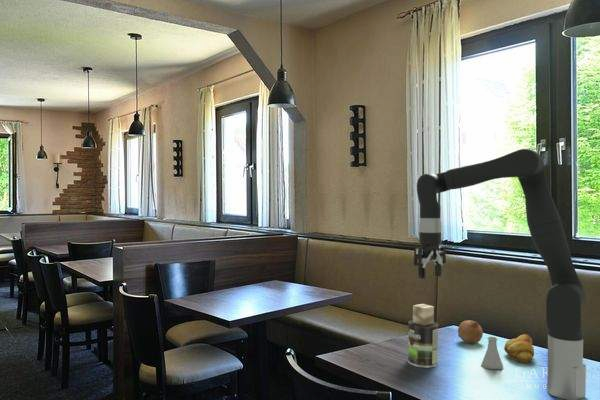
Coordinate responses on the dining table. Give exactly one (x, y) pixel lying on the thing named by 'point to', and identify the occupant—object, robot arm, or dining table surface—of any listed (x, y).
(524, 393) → the dining table surface
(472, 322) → the onion
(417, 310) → the maple block
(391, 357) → the dining table surface
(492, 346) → the flask
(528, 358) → the bread roll
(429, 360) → the coffee can
